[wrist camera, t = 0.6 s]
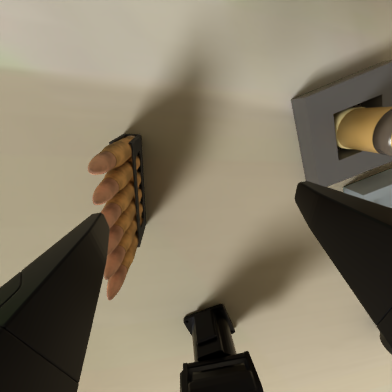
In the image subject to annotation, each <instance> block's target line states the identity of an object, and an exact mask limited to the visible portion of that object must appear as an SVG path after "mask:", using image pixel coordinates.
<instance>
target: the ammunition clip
mask: <svg viewBox="0 0 392 392" xmlns="http://www.w3.org/2000/svg"><path fill="white" fill-rule="evenodd" d="M88 171H89V173H91V174H94V175H98V174H104V173H106V172H107V174H106V175H105V178H104V179H103V180H102V182H101V183H100V184H99V185H98V186H97V188H96V189H95V191H94V194H93V203H94V204H95V205H100V204H103V203H105V202H107V203H106V205H105V206H104V208H103V210H102V211H101V213H103V214H104V216H105V218H106V221H107V223H108V225H109V228H110V233H109V243H108V253H107V261H106V266H105V271H104V278H105V279H106V280H108V279H109V280H108V285H107V297H108V300H111V299H113V298H114V297H115V295H116V294H117V293H118V291H119V290H120V288H121V286H122V284H123V282H124V280H125V277H126V274H127V272H128V269H129V267H130V265H131V263H132V262H133V259H134V256H135V252H136V249H137V247H140V244H141V240H142V237H143V233H144V229H145V226H146V213H145V195H144V177H143V159H142V141H141V135H140V134H123V135H121V136H119V137H118V138H116V139H114V140H112V141H111V142H109V145H108V146H106V147H105V148H104V149H103V150H102V152H100V153H99V154H98V155H96V156H95V157H94V158H93V159H92V160H91V161H90V163H89V165H88Z"/></svg>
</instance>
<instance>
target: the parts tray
mask: <svg viewBox="0 0 392 392" xmlns="http://www.w3.org/2000/svg"><path fill="white" fill-rule="evenodd" d="M343 190H344V193H346V194H349V195H352V196H355V197H359V198H362V199H365V200H368V201H371V202H374V203H377V204H380V205H383V206H386V207H390V208H392V168H391V169H388V170H386V171H383V172H381V173H378V174H376V175H373V176H370V177H368V178H365V179H363V180H360V181H358V182H355V183H352V184H350V185H347V186H345V187H343Z"/></svg>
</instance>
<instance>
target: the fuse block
mask: <svg viewBox="0 0 392 392" xmlns="http://www.w3.org/2000/svg"><path fill="white" fill-rule="evenodd" d="M291 102H292V108H293V113H294V118H295V124H296V129H297V135H298V140H299V145H300V151H301V156H302V162H303V167H304V173H305V178H306V181H309V182H312V183H315V184H318V185H321V186H325V187H328V186H330V185H333V184H335V183H338V182H340V181H343V180H346V179H348V178H351V177H353V176H356V175H358V174H361V173H363V172H366V171H369V170H371V169H374V168H376V167H379V166H381V165H384V164H386V163H389V162H392V156H386V155H382V154H378V153H373V152H367V151H362V150H356V149H345V148H343V149H341V150H338V151H337V142H336V133H335V125H334V116H333V114H335V113H337V112H340V111H342V110H344V109H347V108H349V107H352V106H354V105H357V104H359V103H361V107H365V108H373V107H392V60H389V61H385V62H381V63H379V64H377V65H374V66H372V67H369V68H367V69H365V70H362V71H360V72H357V73H355V74H352V75H350V76H348V77H345V78H343V79H340V80H338V81H335V82H333V83H331V84H328V85H326V86H323V87H321V88H318V89H316V90H314V91H311V92H309V93H306V94H304V95H301V96H299V97H297V98H294V99H292V100H291Z"/></svg>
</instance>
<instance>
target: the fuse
mask: <svg viewBox="0 0 392 392" xmlns="http://www.w3.org/2000/svg"><path fill="white" fill-rule="evenodd" d="M333 116H334V125H335V133H336V142H337V147H339V148H345V149H356V150H362V151H367V152H373V153H378V154H382V155H386V156H392V107H373V108H365V107H352V108H347V109H344V110H342V111H340V112H337V113H335V114H333Z"/></svg>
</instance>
